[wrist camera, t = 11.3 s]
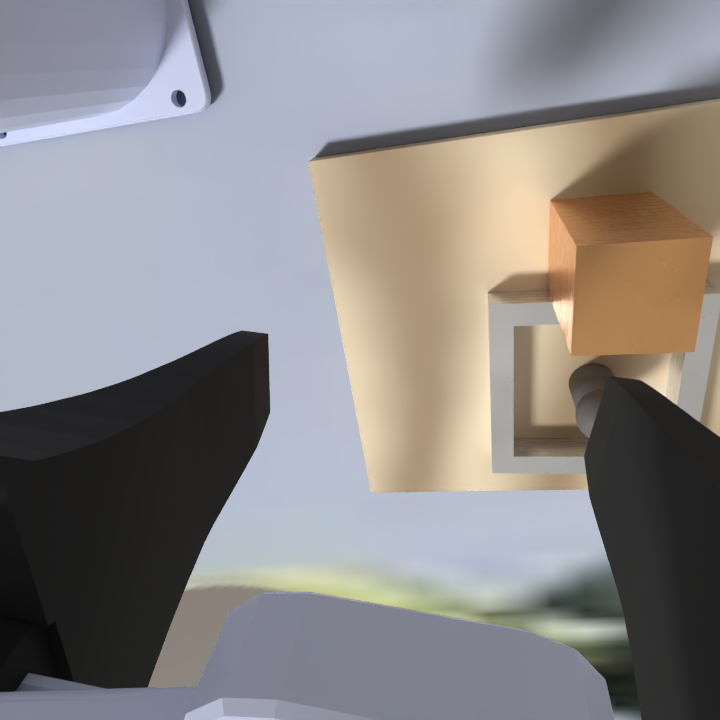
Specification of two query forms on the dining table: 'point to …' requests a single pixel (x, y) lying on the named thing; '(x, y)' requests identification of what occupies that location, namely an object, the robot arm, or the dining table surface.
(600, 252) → the square frame with cube
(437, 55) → the dining table surface
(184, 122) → the dining table surface
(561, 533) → the dining table surface
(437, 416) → the board
